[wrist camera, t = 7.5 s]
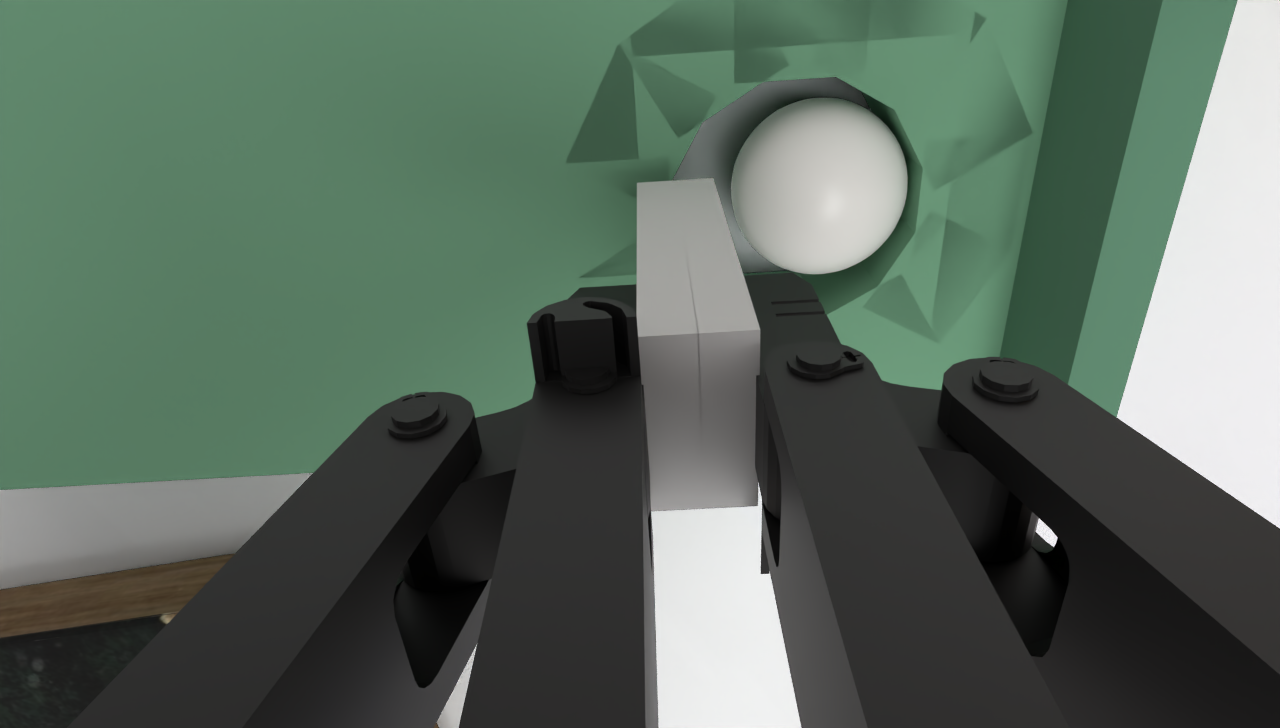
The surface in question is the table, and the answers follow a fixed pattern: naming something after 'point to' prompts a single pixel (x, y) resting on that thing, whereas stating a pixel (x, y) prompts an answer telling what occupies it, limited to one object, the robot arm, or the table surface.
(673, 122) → the green
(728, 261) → the robot arm
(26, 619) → the book
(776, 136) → the ball
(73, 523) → the table surface
